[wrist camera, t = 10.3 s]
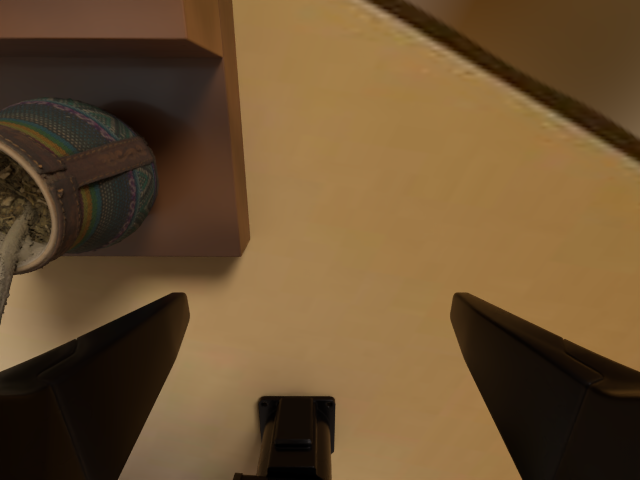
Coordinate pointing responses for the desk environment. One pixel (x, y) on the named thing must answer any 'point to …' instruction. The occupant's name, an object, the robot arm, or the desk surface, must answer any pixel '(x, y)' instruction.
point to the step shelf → (147, 103)
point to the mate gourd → (68, 183)
